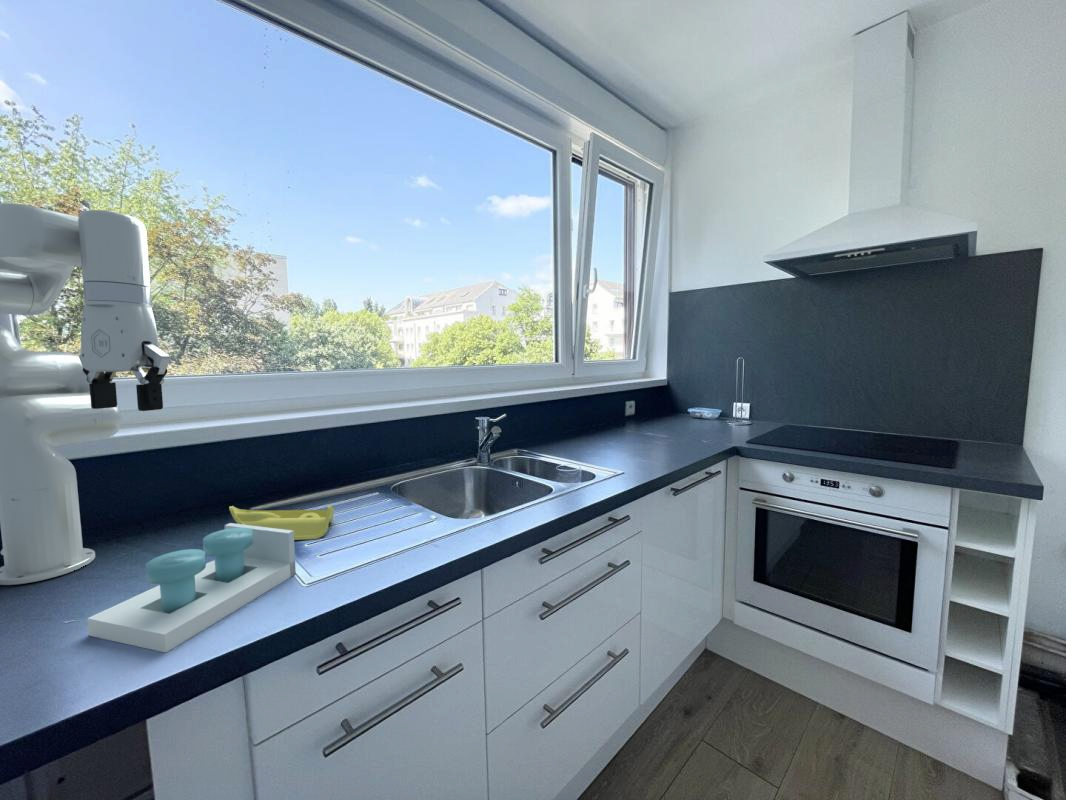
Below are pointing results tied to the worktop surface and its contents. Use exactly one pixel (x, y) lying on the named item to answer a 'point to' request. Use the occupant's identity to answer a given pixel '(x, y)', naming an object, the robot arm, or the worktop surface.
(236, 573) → the teal flanged peg
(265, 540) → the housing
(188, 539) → the worktop surface
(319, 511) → the plastic component
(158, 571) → the teal round plug
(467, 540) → the worktop surface
